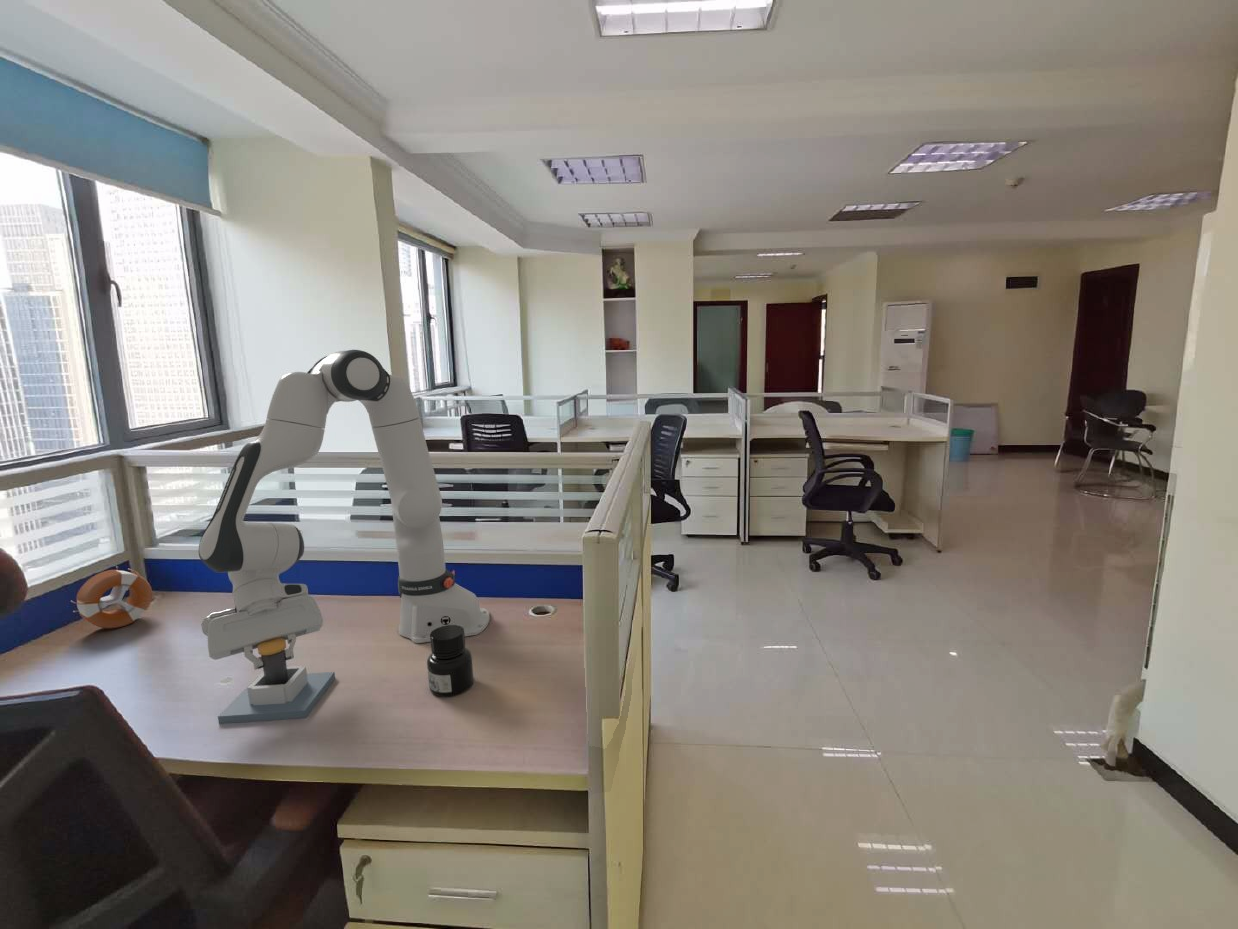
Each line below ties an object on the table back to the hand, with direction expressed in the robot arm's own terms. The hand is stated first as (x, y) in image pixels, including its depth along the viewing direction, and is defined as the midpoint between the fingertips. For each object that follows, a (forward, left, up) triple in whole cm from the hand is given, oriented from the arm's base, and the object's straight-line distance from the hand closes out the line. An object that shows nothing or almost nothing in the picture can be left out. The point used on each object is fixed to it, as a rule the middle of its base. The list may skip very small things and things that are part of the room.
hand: (274, 663), depth 116 cm
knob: (0, 0, -5) cm, 5 cm away
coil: (+62, -43, -9) cm, 76 cm away
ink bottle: (-34, -2, -9) cm, 35 cm away
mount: (0, -1, -8) cm, 8 cm away
